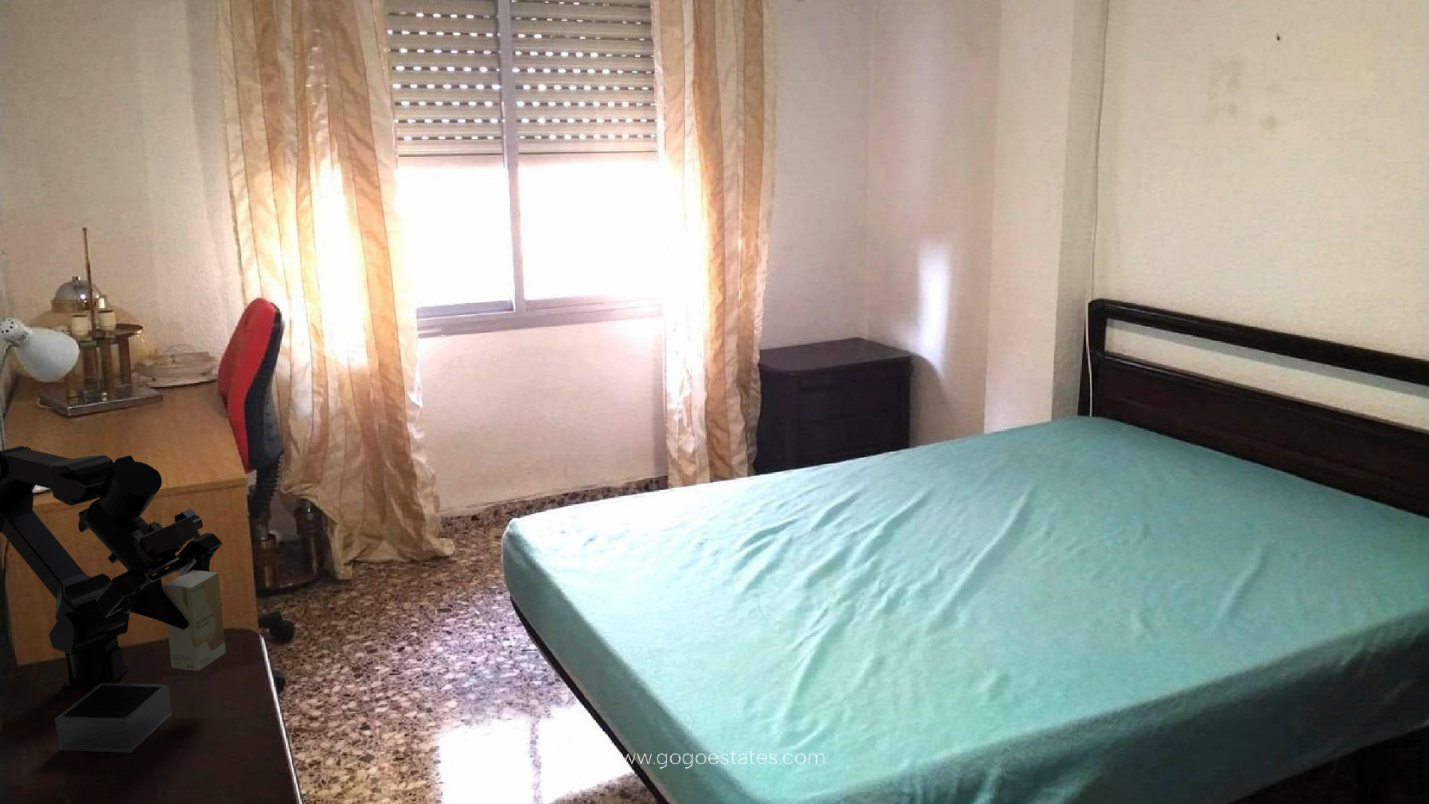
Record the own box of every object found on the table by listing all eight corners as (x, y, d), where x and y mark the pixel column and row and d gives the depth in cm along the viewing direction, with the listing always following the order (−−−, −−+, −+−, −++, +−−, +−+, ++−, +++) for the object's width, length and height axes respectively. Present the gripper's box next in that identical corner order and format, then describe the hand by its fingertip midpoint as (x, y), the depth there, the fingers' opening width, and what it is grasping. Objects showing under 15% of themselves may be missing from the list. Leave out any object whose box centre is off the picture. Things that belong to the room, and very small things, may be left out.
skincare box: (198, 672, 145) (188, 588, 142) (170, 669, 146) (160, 585, 143) (228, 651, 151) (219, 570, 149) (201, 648, 152) (192, 568, 149)
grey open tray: (59, 750, 139) (54, 718, 138) (104, 712, 148) (100, 683, 147) (130, 752, 138) (126, 721, 137) (172, 714, 147) (168, 685, 146)
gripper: (103, 520, 135) (186, 610, 135) (204, 478, 153) (278, 558, 153) (60, 572, 139) (141, 660, 139) (163, 525, 157) (236, 603, 157)
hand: (203, 617), depth 147 cm, fingers closed on skincare box, 6 cm apart
